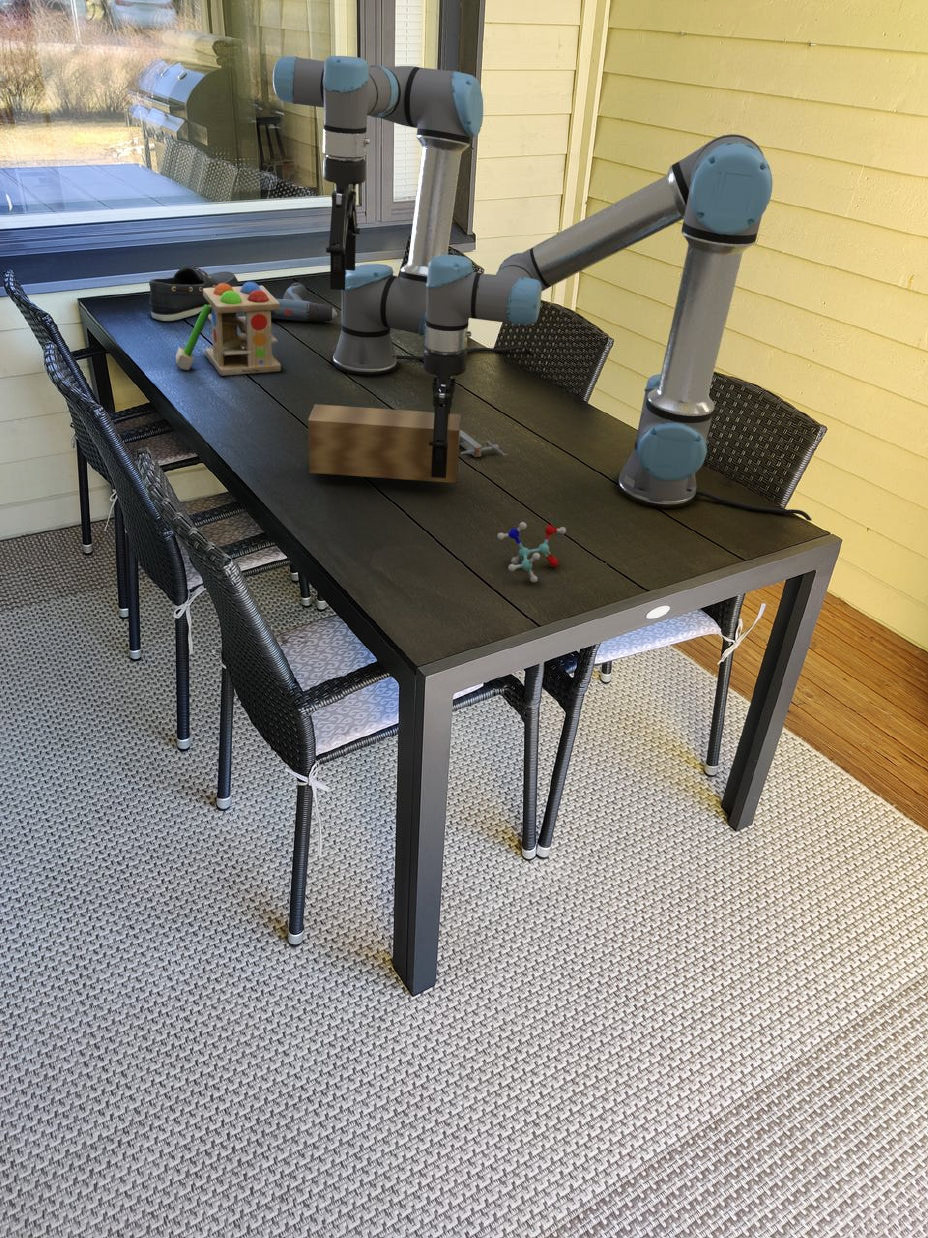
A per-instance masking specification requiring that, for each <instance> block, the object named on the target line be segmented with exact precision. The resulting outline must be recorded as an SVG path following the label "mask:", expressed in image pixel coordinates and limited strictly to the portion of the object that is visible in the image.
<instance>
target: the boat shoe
mask: <svg viewBox="0 0 928 1238" xmlns="http://www.w3.org/2000/svg"><path fill="white" fill-rule="evenodd" d="M221 283H226V284H228V285H230V286H231V287H240V285H239V280H238V278H237V277H236V275H235V274H234V273H233V272H231V271H220V272H213V273H210V274H208V273H207V272H206V271H205V270H204V269H202V268H199V267H195V266H191V265H186V266H185V265H184V266H183V267H181V268H179V269H178V270H177V271H176V272H175V273H174V274H173V277H172V276H171V277H167V278H166V277H165V278H152V279H150V280H149V281H148V285H149V291H150V292H149V302H148V306H151V309H150V313H151V317H152V318H153V319H155V320H157V321H162V322H171V321H172V322H173V321H178V320H182V319H184V318H188V317H192V316H196V315H197V314H200V313H201V311H202V309H203V307H204V305H208V306H210V307H211V305H210V304H209V302H208V301H207V300H206V299H205V297H204V296H203V289H204V288H215V287H216V286H217V285H218V284H221Z"/></svg>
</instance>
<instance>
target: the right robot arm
mask: <svg viewBox="0 0 928 1238" xmlns="http://www.w3.org/2000/svg"><path fill="white" fill-rule="evenodd" d="M773 185H774V184H773V175H772V169H771V166H770V164H769V163H768V161H767V158H765V156H764V152H763V151H762V149H761V147H760V146H759V145H758V144H757V143H756V142H755V141H754V140H753V139H751V138H749V137H748V136H744V135H742V134H736V133H728V134H722V135H721V136H717V137H715V138H713V139H712V140H709V141H708V142H707V143H705V144H704V145H702V146H701V147H699V148H698V149H696V150H695V151H694V152H692V153H690V154H688V155H687V156H685V157H684V158H682V159H679V160H678V161H677V162H674V163H673V164H671V165H670V166H669V168H668V170H667V173H666V174H665V176H662V177H661V178H659V179H657V180H655V181H653V182H651V183H650V184H647V185H645V186H643V187H642V188H640V189H638V190H636V191H634V192H632V193H630V194H629V195H627V196H625V197H623V198H621V199H620V200H617V201H616V202H614V203H612V204H610V205H608V206H606V207H605V208H602V209H601V210H599V211H597V212H596V213H593V214H592V215H590V216H587V217H586V218H584V219H582V220H580V221H578V222H576V223H574V224H572V225H571V226H569V227H567V228H565V229H563V230H562V231H560V232H558V233H556V234H554V235H552V236H550V237H549V238H547V239H545V240H543V241H541V242H539V243H538V244H535V245H534V246H532V247H531V248H528V249H526V250H525V251H523V252H516V253H513V254H511V255H509V256H508V257H507V258H505V259H504V260H502V262H501V264H500V265H499V267H498V269H497V271H496V273H495V274H491V273H482V272H478V271H474V268H473V262H472V260H471V259H470V258H468V257H466V256H461V255H458V254H447V255H439V256H436V257H434V258H432V260H430V262H429V266H428V276H427V284H426V322H425V335H424V337H423V338H424V340H423V341H424V342H423V343H424V344H423V345H424V347H425V349H424V350H423V351H424V352H423V356H424V360H423V369H424V370H425V371H426V373H428V374H430V375H434V377H433V382H432V387H431V389H432V393H433V396H432V407H434V411H433V413H434V431H433V442H429V446H433V448H432V471H431V477H435V478H446V466H447V448H448V442H447V432H448V417H449V414H452V412H451V409H452V407H453V400H454V393H455V388H456V378H453V377H455V376H456V377H457V376H460V375H462V374H464V373H465V371H466V369H467V357H468V353H467V352H466V351H465V350H467V349H468V348H467V347H468V338H471V336H472V331H471V330H469V321H470V320H469V319H474V320H481V321H489V322H496V323H504V324H511V325H514V326H518V325H525V326H532V325H535V324H536V323H537V321H538V318H539V314H540V310H541V304H542V303H541V302H542V294H543V293H542V292H544V291H546V290H547V289H549V288H551V287H553V286H555V285H557V284H559V283H561V282H563V281H565V280H566V279H569V278H570V277H572V276H575V275H576V274H579V273H580V272H582V271H584V270H586V269H588V268H590V267H592V266H594V265H596V264H598V263H600V262H602V261H604V260H606V259H608V258H610V257H613V256H614V255H616V254H618V253H620V252H622V251H624V250H626V249H628V248H631V246H634V245H635V244H638V243H639V242H641V241H644V240H645V239H647V238H649V237H651V236H653V235H655V234H657V233H659V232H661V231H663V230H665V229H667V228H669V227H671V226H673V225H675V224H677V223H679V222H681V221H682V224H681V225H682V226H681V231H680V233H681V234H682V236H683V237H684V239H685V241H686V242H687V249H686V254H685V258H684V263H683V267H682V272H681V278H680V283H679V287H678V290H677V291H678V292H677V296H676V301H675V304H674V305H675V306H674V311H673V316H672V320H671V323H670V324H671V325H670V330H669V333H668V340H667V343H666V348H665V352H664V357H663V358H664V359H663V362H662V368H661V372H660V373H657V374H654V375H651V376H650V377H649V378H648V380H647V382H646V386H645V388H644V390H643V391H644V396H643V401H642V406H641V410H640V411H641V412H640V416H639V421H638V427H637V431H636V437H635V443H634V447H633V450H632V452H631V454H630V455H629V457H628V459H627V460H626V461H625V462H626V463H624V466H623V468H622V469H621V472H620V473H619V476H618V481H617V488H618V490H619V492H620V493H621V494H622V495H623V496H624V497H626V498H628V499H629V500H631V501H633V502H635V503H637V504H640V505H644V506H648V507H652V508H658V509H677V508H682V507H686V506H688V505H690V504H692V503H693V502H694V501H695V498H696V495H699V496H701V497H706V498H708V499H711V500H713V501H716V502H719V503H722V504H726V505H730V506H734V507H738V508H742V509H746V510H753V511H760V512H770V513H777V514H784V515H785V514H787V515H789V514H790V513H791V514H793V515H794V514H795V515H800V516H802V517H804V519H805V520H806V521H808V522H811V521H813V520H812V519H813V518H811V516H810V515H809V514H808V513H807V512H805V511H803V510H800V509H795V508H794V509H792V508H791V509H789V508H787V509H786V508H776V507H768V506H761V505H759V506H758V505H753V504H747V503H743V502H738V501H734V500H731V499H726V498H723V497H720V496H718V495H714V494H712V493H709V492H706V491H703V490H699V489H697V477H696V473H697V472H698V471H699V470H700V469H701V468H702V466H703V465H704V462H705V459H706V457H707V454H708V445H707V439H708V436H709V432H710V427H711V424H712V418H713V415H714V411H715V403H714V402H713V400H712V399H711V397H710V389H711V387H712V380H713V377H714V373H715V369H716V366H717V360H718V357H719V352H720V348H721V345H722V344H721V343H722V340H723V337H724V336H723V335H724V331H725V328H726V324H727V319H728V315H729V311H730V308H731V304H732V303H731V302H732V299H733V295H734V290H735V286H736V282H737V279H738V275H739V274H738V273H739V269H740V265H741V261H742V258H743V254H744V252H745V251H746V250H748V249H749V248H751V247H752V246H753V245H755V244H756V242H757V237H758V233H759V230H760V226H761V221H762V217H763V215H764V214H765V211H766V210H767V207H768V206H769V203H770V202H771V197H772V193H773ZM791 514H790V515H791Z"/></svg>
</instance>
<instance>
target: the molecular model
mask: <svg viewBox="0 0 928 1238" xmlns="http://www.w3.org/2000/svg"><path fill="white" fill-rule="evenodd" d="M527 526H528V525H527V523H526V522H524V521H521V522H520V523H519V525H518V527H517V528H511V529H510V530H509V532H505V533H504V532H498V533H497V535H496V537H497V539H498V540H499V541H503V540H504V539H505V538H509V537H510V538H511V539H512V540H514V541H515V542H516V545H517V546H518V548H519V550H518V551H517V552H518V555H516V556H515V557H512V558H511V561H510V562H511V563H510V564H509V565H508V567H507V568H508V571H509V572H511V573H512V572H515V571H516V570H519V569H522V570H523V571H527V573H528V574H529V577H530V578H529V581H530V583H537V582H538V580H539V579H538V577H537V575H535V574H534V572H533V570H532V567H533V562H534V561H539V560H540V558H541V555H544V557H545V559H546V560H547V561H548V564H549V566H550V567H551V568H557V567H558V566H559V560H558V558H556V557H554V556H553V554H552V553H551V551H550V546H549V545H548V543H549V541H550V537H551V536H553V535H554V534H555V533H559V534H560V535H565V534H566V532H567V529H566V527H564V526H561V527H559V528H555V527H554V526H553V525H547V526H546V527H545V529H544V532H545V535H546V536H545V538H544V541H543V543H541V544H539V545H538V547H536V548H531V549H528V548H527V547H524V546H523V544H522V541H521V540H520V535H521V534H520V532H521V531H522V530H525V529H526V528H527ZM530 554H532V557H531V558H530V559H528V557H529V556H530ZM540 554H541V555H540ZM520 559H522V560H521V563H519V560H520Z"/></svg>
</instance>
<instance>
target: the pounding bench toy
mask: <svg viewBox="0 0 928 1238" xmlns="http://www.w3.org/2000/svg"><path fill="white" fill-rule="evenodd" d="M203 296H204V297H205V299H206V300H207V301H208V302H209V304H210V305H211V307H210V306H208V305H204V307H203V309H202V311H201V312H200V313H199V316H198V318H197V320H196V322H195V324H194V327H193V329H192V331H191V332H190V333H191V334H190V336H189V338H188V340H187V343H186V344H185V347H184V348H182V347H180V346H179V347H178V349H177V351H176V354H175V357H174V358H175V362H176V365H177V366H178V368H179V369H182V370H185V371H189V370H190V369H191V367H192V365H193V363H194V356H193V351H194V348H195V347H196V345H197V342H198V340H199V337H200V336H201V333H202V332H203V329H204V326H205V325H206V322H207V320H209V321H210V322H211V336H212V337H211V338H212V339H211V340H212V348H205V349H204V352H205V353H204V355H205V357H206V359H208V361H209V363H210V364H211V365H212V366H213V367H214V369H215V370H216V371H217V372H218V374H219V375H220V376H222V377H223V376H234V375H235V376H236V375H246V374H247V375H250V374H262V373H275V372H281V370H282V364H281V363H280V362H279V360H278V359H277V358H276V357H275V356H274V355H273V348H272V347H273V345H272V344H276V343H278V342H279V341H278V339H277V338H276V337H275V336H274V334H272V318H271V310H280V303H279V302H278V301H277V300H276V299H277V298H276V297H274V296H273V295H272V294H271V293H270V292H269V290H268V289H267V288H266V287H264V285H259V284H257V283H256V282H255V281H247V282H245V283H244V284H243V285H242V286H239V287H231V286H230V285H228V284H226V283H221V284H218V285H217V286H216V287H215V288H204V289H203ZM238 313H244V314H245V315H244V316H238ZM238 329H239V331H240V333H239V334H238Z"/></svg>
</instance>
